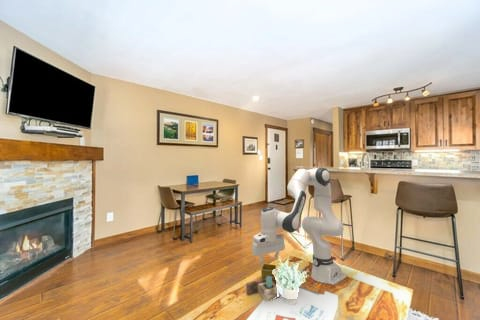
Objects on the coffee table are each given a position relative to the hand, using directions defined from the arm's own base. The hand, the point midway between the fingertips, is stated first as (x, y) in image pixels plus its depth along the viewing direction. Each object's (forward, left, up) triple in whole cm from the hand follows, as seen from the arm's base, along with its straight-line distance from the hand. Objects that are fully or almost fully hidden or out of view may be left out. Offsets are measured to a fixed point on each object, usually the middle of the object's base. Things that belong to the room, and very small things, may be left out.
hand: (268, 260), depth 126 cm
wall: (0, -6, -20) cm, 20 cm away
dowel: (0, 0, -19) cm, 19 cm away
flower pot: (-8, -13, -20) cm, 25 cm away
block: (0, 0, -20) cm, 20 cm away
